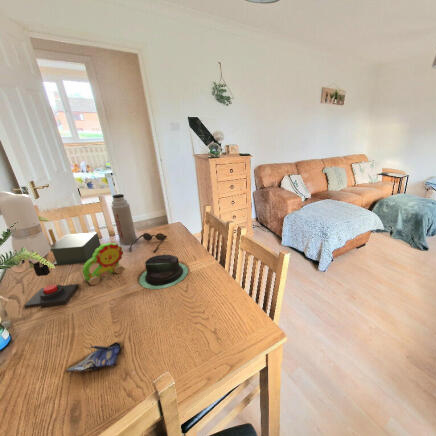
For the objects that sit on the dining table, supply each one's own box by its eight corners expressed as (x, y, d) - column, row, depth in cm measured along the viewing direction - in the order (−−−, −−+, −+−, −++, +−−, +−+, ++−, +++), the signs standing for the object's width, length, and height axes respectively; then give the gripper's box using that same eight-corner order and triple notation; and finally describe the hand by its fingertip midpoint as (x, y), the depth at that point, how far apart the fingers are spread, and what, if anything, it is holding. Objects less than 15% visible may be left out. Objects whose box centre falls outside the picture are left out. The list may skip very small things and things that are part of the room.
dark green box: (52, 266, 112) (45, 249, 109) (70, 249, 126) (64, 234, 123) (87, 262, 117) (82, 246, 113) (101, 246, 131) (97, 232, 127)
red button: (42, 294, 90) (41, 291, 89) (48, 288, 93) (46, 285, 92) (54, 293, 91) (52, 289, 90) (59, 287, 94) (58, 283, 93)
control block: (26, 310, 87) (22, 301, 86) (43, 292, 96) (39, 284, 94) (66, 304, 91) (63, 296, 89) (79, 288, 100) (76, 280, 98)
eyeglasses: (167, 240, 141) (166, 232, 139) (155, 253, 128) (154, 244, 126) (142, 239, 140) (140, 232, 139) (127, 252, 127) (125, 244, 125)
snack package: (92, 345, 76) (58, 381, 65) (90, 330, 73) (55, 365, 63) (130, 351, 77) (104, 388, 66) (130, 336, 74) (103, 372, 64)
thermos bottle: (124, 246, 132) (112, 198, 122) (117, 241, 137) (106, 195, 126) (139, 241, 139) (129, 195, 128) (132, 237, 143) (122, 192, 132)
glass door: (56, 255, 119) (47, 230, 114) (64, 248, 125) (56, 224, 120) (64, 254, 120) (55, 229, 115) (72, 247, 126) (64, 223, 121)
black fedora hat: (134, 292, 97) (138, 268, 114) (180, 299, 108) (178, 276, 124) (149, 261, 96) (151, 240, 112) (194, 271, 106) (190, 251, 123)
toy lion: (91, 287, 100) (81, 256, 95) (84, 283, 102) (74, 252, 97) (129, 268, 114) (122, 240, 108) (122, 265, 116) (115, 237, 110)
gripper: (27, 222, 88) (43, 264, 95) (-6, 241, 75) (16, 288, 81) (52, 221, 90) (66, 262, 97) (25, 239, 77) (43, 285, 84)
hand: (43, 274), depth 89 cm, fingers closed
